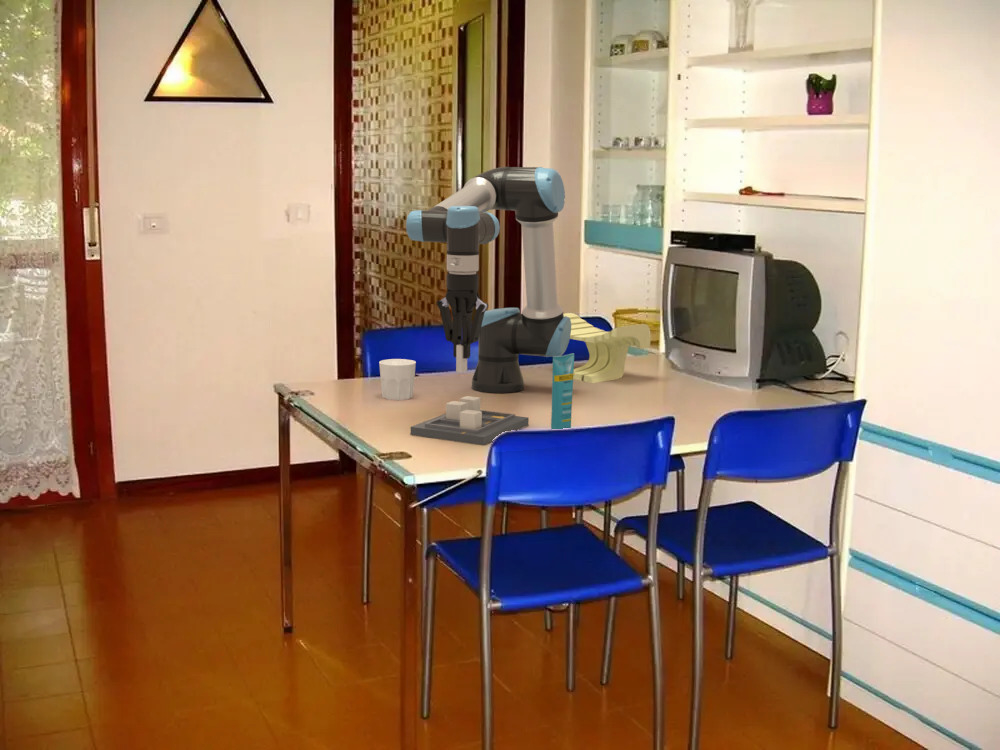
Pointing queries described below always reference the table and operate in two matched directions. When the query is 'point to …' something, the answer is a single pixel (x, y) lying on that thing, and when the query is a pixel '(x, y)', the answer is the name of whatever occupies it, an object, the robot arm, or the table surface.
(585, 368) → the slatted curved stool
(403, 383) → the cup
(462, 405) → the tab mid
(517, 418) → the switch board
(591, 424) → the table surface
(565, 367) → the tube
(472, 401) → the tab far
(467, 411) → the white cube
